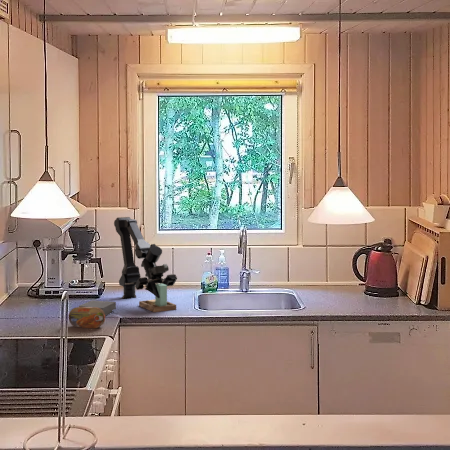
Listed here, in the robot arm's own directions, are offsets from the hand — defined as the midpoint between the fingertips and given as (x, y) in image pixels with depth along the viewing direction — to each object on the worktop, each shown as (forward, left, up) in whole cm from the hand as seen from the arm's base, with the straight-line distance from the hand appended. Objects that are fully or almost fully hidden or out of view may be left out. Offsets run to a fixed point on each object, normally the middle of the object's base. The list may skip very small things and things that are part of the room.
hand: (162, 297), depth 325 cm
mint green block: (-1, -1, -6) cm, 6 cm away
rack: (-4, -2, -7) cm, 8 cm away
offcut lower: (-8, -4, -6) cm, 10 cm away
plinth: (-1, -29, -7) cm, 29 cm away
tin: (+23, -32, -7) cm, 40 cm away
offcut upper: (-8, -4, -4) cm, 10 cm away
